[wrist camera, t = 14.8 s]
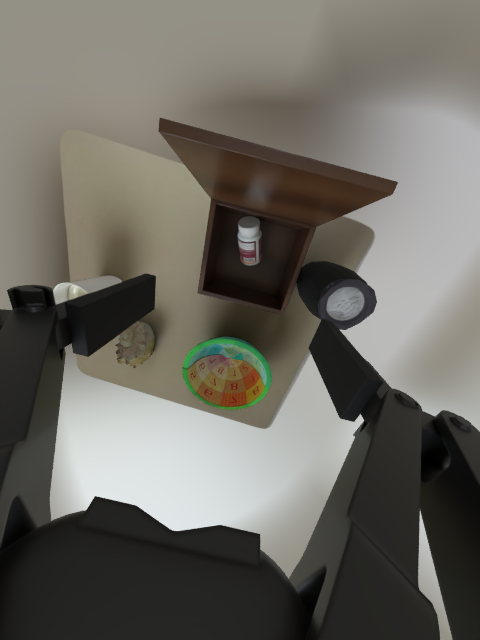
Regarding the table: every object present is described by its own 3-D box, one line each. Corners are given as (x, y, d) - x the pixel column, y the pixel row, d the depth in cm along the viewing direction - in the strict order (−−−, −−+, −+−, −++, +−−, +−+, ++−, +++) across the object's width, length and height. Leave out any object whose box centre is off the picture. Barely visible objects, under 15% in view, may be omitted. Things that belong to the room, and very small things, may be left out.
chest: (278, 298, 48) (283, 315, 38) (210, 281, 47) (197, 293, 38) (303, 226, 41) (317, 224, 31) (223, 205, 40) (211, 195, 31)
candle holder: (130, 275, 49) (93, 287, 38) (133, 310, 53) (100, 330, 42) (93, 268, 49) (45, 278, 38) (99, 304, 53) (57, 322, 42)
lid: (392, 194, 14) (398, 182, 14) (158, 131, 14) (159, 117, 13) (317, 226, 31) (319, 221, 30) (210, 198, 30) (211, 192, 30)
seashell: (168, 326, 55) (150, 340, 46) (153, 364, 60) (135, 384, 50) (132, 309, 54) (107, 320, 45) (120, 349, 59) (95, 367, 49)
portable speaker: (339, 265, 43) (395, 286, 26) (319, 301, 47) (355, 342, 29) (304, 252, 43) (337, 264, 25) (287, 290, 47) (305, 324, 29)
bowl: (282, 338, 52) (287, 359, 43) (251, 392, 61) (250, 420, 52) (206, 308, 51) (195, 324, 42) (186, 369, 60) (173, 393, 51)
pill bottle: (251, 248, 43) (250, 211, 36) (266, 258, 41) (267, 221, 34) (235, 258, 42) (230, 222, 35) (249, 269, 40) (247, 232, 33)
